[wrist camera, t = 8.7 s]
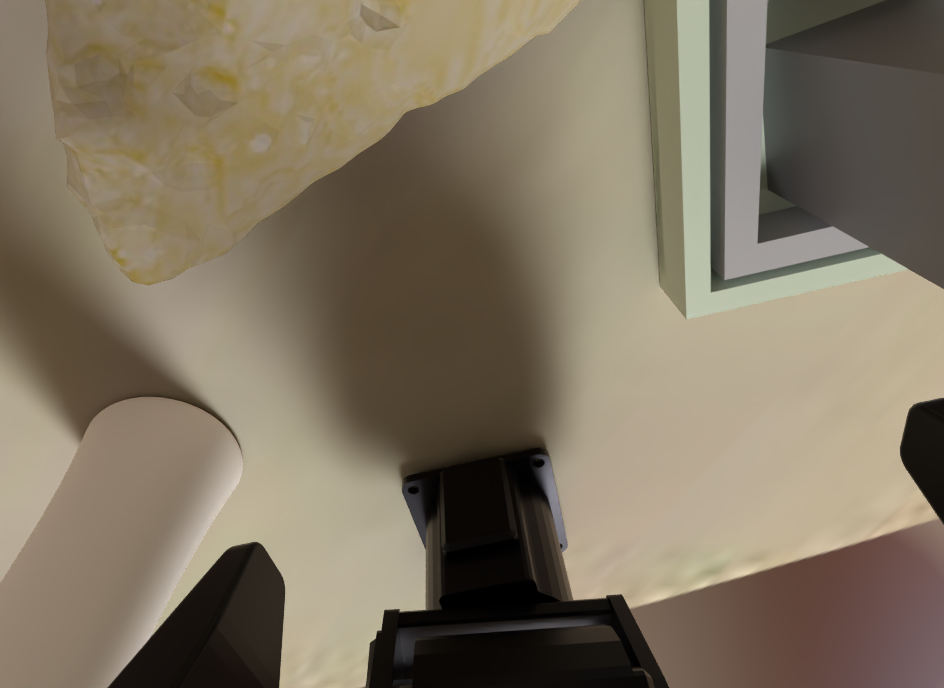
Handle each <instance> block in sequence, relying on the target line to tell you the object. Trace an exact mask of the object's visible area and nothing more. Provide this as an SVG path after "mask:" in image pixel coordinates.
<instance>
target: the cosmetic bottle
mask: <svg viewBox="0 0 944 688" xmlns="http://www.w3.org/2000/svg"><path fill="white" fill-rule="evenodd" d="M242 470H243V458H242V454H241V450H240V448H239V445H238V443H237V441H236V440H235V438H234V436H233V435H232V434H231V432H230V431H229V430H228V429H227V428H226V427H225V426H224V425H223V424H222V423H221V422H220V421H219V420H217V419H216V418H215V417H213V416H212V415H210V414H209V413H207V412H205V411H203V410H202V409H200V408H197V407H195V406H193V405H191V404H188V403H185V402H182V401H178V400H174V399H169V398H163V397H137V398H131V399H126V400H123V401H120V402H117V403H114V404H112V405H110V406H108V407H107V408H105V409H104V410H102V411H101V412H100V413H98V414H97V415H96V416H95V417H94V419H93V420H92V421H91V422H90V424H89V426H88V428H87V430H86V432H85V434H84V437H83V439H82V441H81V443H80V446H79V448H78V450H77V452H76V454H75V456H74V458H73V460H72V463H71V465H70V467H69V469H68V470H67V472H66V474H65V476H64V478H63V480H62V482H61V484H60V486H59V487H58V489H57V491H56V493H55V494H54V496H53V498H52V500H51V501H50V503H49V505H48V507H47V508H46V510H45V512H44V514H43V515H42V517H41V519H40V520H39V522H38V524H37V525H36V527H35V529H34V530H33V532H32V534H31V535H30V537H29V539H28V540H27V542H26V544H25V545H24V547H23V548H22V550H21V552H20V553H19V555H18V556H17V558H16V559H15V561H14V563H13V564H12V566H11V567H10V569H9V571H8V572H7V574H6V575H5V577H4V578H3V580H2V582H1V583H0V688H107V687H108V686H109V685H110V684H111V683H112V681H113V680H114V679H115V678H116V677H117V676H118V675H119V673H120V672H121V671H122V670H123V669H124V668H125V666H126V665H127V664H128V663H129V662H130V661H131V660H132V658H133V657H134V656H135V655H136V654H137V653H138V651H139V650H140V649H141V648H142V647H143V646H144V645H145V643H146V642H147V641H148V640H149V638H150V636H151V634H152V632H153V630H154V628H155V626H156V624H157V622H158V620H159V618H160V616H161V614H162V612H163V611H164V609H165V607H166V605H167V603H168V601H169V599H170V597H171V595H172V593H173V591H174V589H175V587H176V586H177V584H178V582H179V580H180V578H181V576H182V574H183V573H184V571H185V569H186V567H187V565H188V563H189V562H190V560H191V558H192V556H193V555H194V553H195V551H196V549H197V548H198V546H199V544H200V542H201V540H202V539H203V537H204V535H205V534H206V532H207V531H208V529H209V527H210V526H211V524H212V522H213V521H214V519H215V517H216V516H217V514H218V513H219V511H220V510H221V508H222V507H223V505H224V504H225V502H226V501H227V499H228V498H229V496H230V495H231V493H232V492H233V490H234V489H235V488H236V486H237V485H238V483H239V481H240V478H241V475H242Z"/></svg>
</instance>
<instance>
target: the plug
mask: <svg viewBox="0 0 944 688" xmlns="http://www.w3.org/2000/svg"><path fill="white" fill-rule="evenodd" d="M763 122H764V138H765V154H766V169H767V185H768V190H769V191H771V192H773V193H775V194H776V195H778V196H780V197H782V198H783V199H785V200H787V201H789V202H791V203H792V204H794V205H796V206H798V207H799V208H801V209H803V210H805V211H806V212H808V213H810V214H812V215H814V216H815V217H817V218H819V219H821V220H822V221H824V222H826V223H828V224H830V225H831V226H833V227H835V228H837V229H838V230H840V231H842V232H844V233H845V234H847V235H849V236H851V237H853V238H854V239H856V240H858V241H860V242H861V243H863V244H865V245H867V246H869V247H870V248H872V249H874V250H876V251H877V252H879V253H881V254H883V255H884V256H886V257H888V258H890V259H892V260H893V261H895V262H897V263H899V264H900V265H902V266H904V267H906V268H908V269H909V270H911V271H913V272H915V273H916V274H918V275H920V276H922V277H923V278H925V279H927V280H929V281H931V282H932V283H934V284H936V285H938V286H939V287H941V288H943V289H944V0H885V1H883V2H880V3H877V4H874V5H872V6H869V7H866V8H863V9H861V10H858V11H855V12H853V13H850V14H847V15H844V16H842V17H839V18H836V19H833V20H831V21H828V22H825V23H823V24H820V25H817V26H814V27H812V28H809V29H806V30H803V31H801V32H798V33H795V34H793V35H790V36H787V37H784V38H782V39H779V40H776V41H774V42H771V43H768V44H766V48H765V72H764V96H763Z"/></svg>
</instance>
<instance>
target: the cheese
mask: <svg viewBox="0 0 944 688" xmlns="http://www.w3.org/2000/svg"><path fill="white" fill-rule="evenodd" d="M580 1H581V0H45V2H46V7H47V17H48V41H47V52H46V53H47V62H48V71H49V80H50V89H51V97H52V106H53V110H54V116H55V132H56V140H59V141H61V142H63V144H64V147H65V151H66V154H67V162H68V178H67V186H68V188H69V189H70V190H71V191H72V192H73V194H74V195H75V196H76V197H77V198H78V200H79V201H80V202H81V203H82V204H83V206H84V207H85V208H86V209H87V210H88V212H89V213H90V214H91V215H92V217H93V220H94V223H95V226H96V228H97V230H98V232H99V234H100V236H101V238H102V240H103V243H104V245H105V247H106V250H107V252H108V254H109V255H110V257H111V258H112V260H113V261H114V263H115V264H116V265H117V267H118V268H119V269H120V270H121V271H122V272H123V273H124V274H125V275H126V276H127V277H128V278H129V279H130V280H131V281H133V282H136V283H139V284H145V285H151V284H155V283H158V282H162V281H165V280H169V279H173V278H174V277H176V276H177V275H179V274H180V273H182V272H183V271H185V270H186V269H188V268H189V267H192V266H195V265H198V264H201V263H204V262H206V261H208V260H211V259H213V258H216V257H218V256H220V255H223V254H225V253H227V252H228V251H229V250H230V249H231V248H232V247H234V246H235V245H236V244H237V243H238V242H239V241H240V240H242V239H243V238H244V237H245V236H246V235H247V234H248V233H249V232H250V231H251V230H252V229H253V228H254V227H255V226H256V225H257V224H258V223H259V222H260V221H261V220H263V219H265V218H267V217H268V216H270V215H272V214H273V213H275V212H276V211H278V210H280V209H281V208H283V207H284V206H285V205H286V204H288V203H289V202H290V201H292V200H293V199H294V198H295V197H297V196H298V195H299V194H300V193H302V192H303V191H304V190H305V189H306V188H307V187H308V186H309V185H311V184H312V183H313V182H315V181H317V180H318V179H320V178H322V177H324V176H326V175H328V174H330V173H332V172H334V171H336V170H338V169H340V168H341V167H342V166H344V165H345V164H346V163H347V162H349V161H350V160H351V159H352V158H354V157H355V156H356V155H358V154H359V153H360V152H362V151H364V150H365V149H367V148H368V147H370V146H372V145H373V144H375V143H376V142H378V141H380V140H381V139H382V138H383V137H384V136H385V135H386V134H387V133H388V132H389V131H390V130H391V129H392V128H393V127H394V126H395V124H396V123H397V122H398V121H399V120H400V118H401V117H402V116H403V115H404V113H405V112H408V111H410V110H413V109H416V108H420V107H424V106H429V105H432V104H434V103H436V102H437V101H439V100H440V99H442V98H443V97H445V96H448V95H450V94H453V93H456V92H458V91H461V90H463V89H465V88H466V87H467V86H468V85H469V84H470V83H471V82H473V81H474V80H475V79H476V78H477V77H478V76H480V75H481V74H483V73H484V72H486V71H487V70H489V69H490V68H492V67H493V66H495V65H497V64H498V63H500V62H502V61H503V60H505V59H506V58H508V57H510V56H511V55H512V54H513V53H515V52H516V51H517V50H518V49H520V48H521V47H522V46H523V45H525V44H526V43H527V42H528V41H530V40H531V39H532V38H533V37H535V36H536V35H541V34H548V33H550V32H551V31H552V30H553V29H554V28H555V27H556V26H557V25H558V24H559V23H560V21H561V20H562V19H563V18H564V17H565V16H566V15H567V14H568V13H569V12H570V11H571V10H572V9H573V8H574V7H575V6H576V5H577V4H578V3H579V2H580Z"/></svg>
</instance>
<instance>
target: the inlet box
mask: <svg viewBox="0 0 944 688" xmlns="http://www.w3.org/2000/svg"><path fill="white" fill-rule="evenodd" d="M883 1H885V0H644V9H645V26H646V44H647V62H648V79H649V97H650V115H651V132H652V150H653V167H654V185H655V203H656V220H657V238H658V256H659V273H660V287H661V288H662V290H663V291H664V292H665V293H666V295H667V296H668V297H669V298H670V300H671V301H672V302H673V303H674V304H675V306H676V307H677V308H678V309H679V311H680V312H681V313H682V314H683V316H684V317H685V318H686V319H691V318H695V317H700V316H704V315H709V314H713V313H717V312H722V311H726V310H731V309H735V308H740V307H744V306H749V305H753V304H757V303H762V302H766V301H771V300H775V299H780V298H784V297H788V296H793V295H797V294H802V293H806V292H811V291H815V290H820V289H824V288H828V287H833V286H837V285H842V284H846V283H851V282H855V281H859V280H864V279H868V278H873V277H877V276H882V275H886V274H890V273H895V272H899V271H904V270H908V268H906V267H904V266H902V265H900V264H899V263H897V262H895V261H893V260H892V259H890V258H888V257H886V256H884V255H883V254H881V253H879V252H877V251H876V250H874V249H872V248H870V247H869V246H867V245H865V244H863V243H861V242H860V241H858V240H856V239H854V238H853V237H851V236H849V235H847V234H845V233H844V232H842V231H840V230H838V229H837V228H835V227H833V226H831V225H830V224H828V223H826V222H824V221H822V220H821V219H819V218H817V217H815V216H814V215H812V214H810V213H808V212H806V211H805V210H803V209H801V208H799V207H798V206H796V205H794V204H792V203H791V202H789V201H787V200H785V199H783V198H782V197H780V196H778V195H776V194H775V193H773V192H771V191H769V190H768V185H767V169H766V154H765V138H764V122H763V96H764V72H765V48H766V44H768V43H771V42H774V41H776V40H779V39H782V38H784V37H787V36H790V35H793V34H795V33H798V32H801V31H803V30H806V29H809V28H812V27H814V26H817V25H820V24H823V23H825V22H828V21H831V20H833V19H836V18H839V17H842V16H844V15H847V14H850V13H853V12H855V11H858V10H861V9H863V8H866V7H869V6H872V5H874V4H877V3H880V2H883Z"/></svg>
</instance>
